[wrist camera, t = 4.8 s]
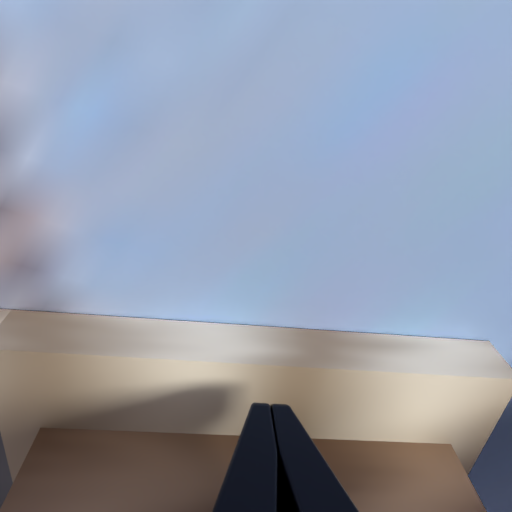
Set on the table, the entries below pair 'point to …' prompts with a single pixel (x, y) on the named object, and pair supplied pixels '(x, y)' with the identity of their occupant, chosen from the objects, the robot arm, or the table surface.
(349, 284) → the table surface
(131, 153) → the table surface
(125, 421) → the trap deck
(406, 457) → the bar
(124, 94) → the table surface
